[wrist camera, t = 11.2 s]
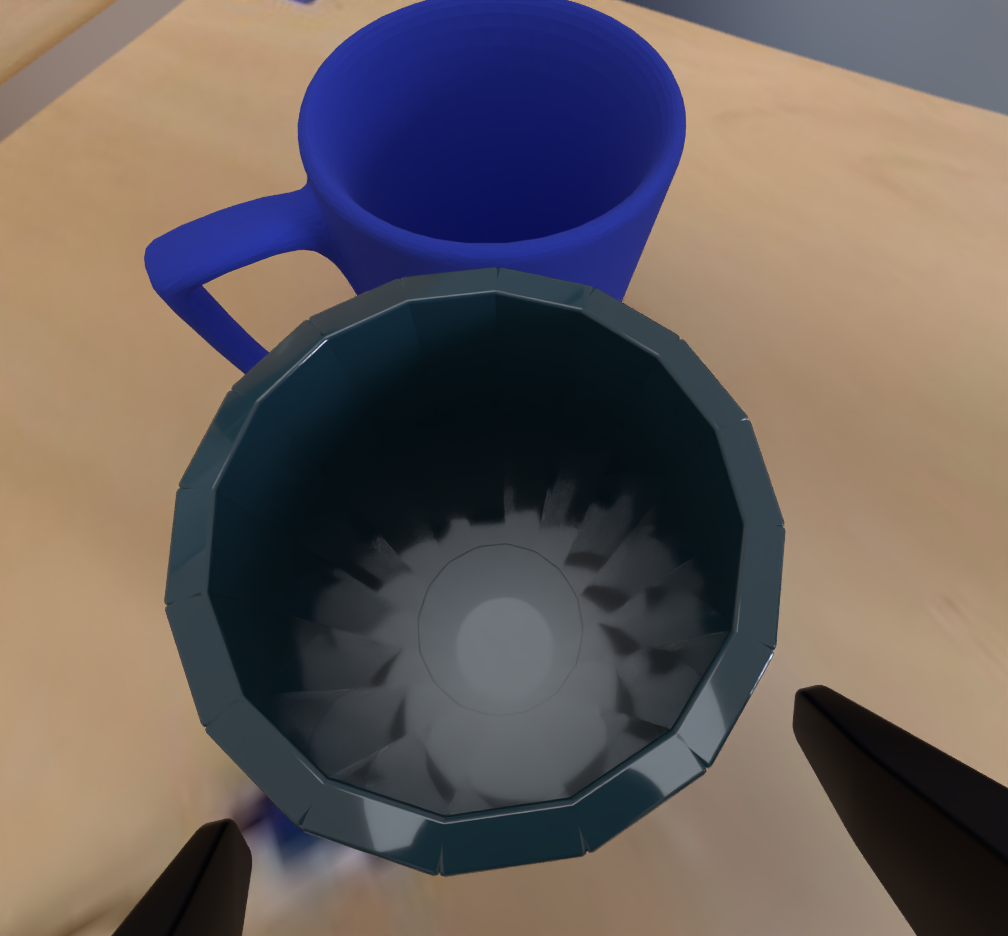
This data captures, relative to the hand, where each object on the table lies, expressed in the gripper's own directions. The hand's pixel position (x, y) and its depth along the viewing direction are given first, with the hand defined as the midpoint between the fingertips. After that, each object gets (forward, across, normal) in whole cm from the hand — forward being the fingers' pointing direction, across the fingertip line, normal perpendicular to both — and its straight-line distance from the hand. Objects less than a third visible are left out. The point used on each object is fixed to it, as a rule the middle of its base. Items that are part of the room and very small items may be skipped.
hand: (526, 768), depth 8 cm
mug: (+14, 0, -3) cm, 14 cm away
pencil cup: (+8, 0, +4) cm, 8 cm away
